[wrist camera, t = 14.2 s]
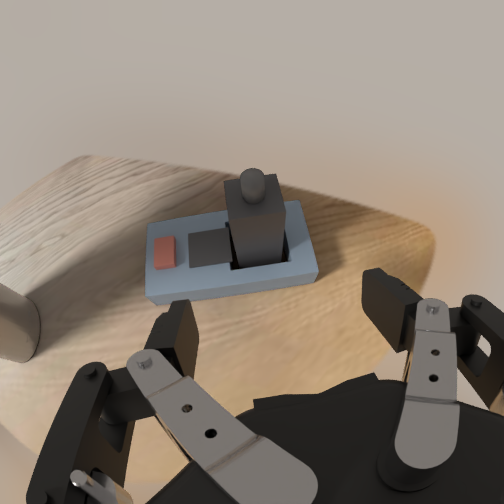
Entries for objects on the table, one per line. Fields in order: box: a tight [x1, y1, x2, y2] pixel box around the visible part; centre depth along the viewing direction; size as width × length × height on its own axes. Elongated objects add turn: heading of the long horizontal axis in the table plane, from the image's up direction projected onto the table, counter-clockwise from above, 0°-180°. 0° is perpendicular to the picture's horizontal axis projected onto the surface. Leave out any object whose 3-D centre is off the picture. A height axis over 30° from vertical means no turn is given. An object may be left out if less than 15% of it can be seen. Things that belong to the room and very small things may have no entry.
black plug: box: [224, 168, 286, 269], centre depth 23 cm, size 4×4×12 cm
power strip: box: [145, 200, 319, 305], centre depth 27 cm, size 16×8×4 cm, turn 98°
